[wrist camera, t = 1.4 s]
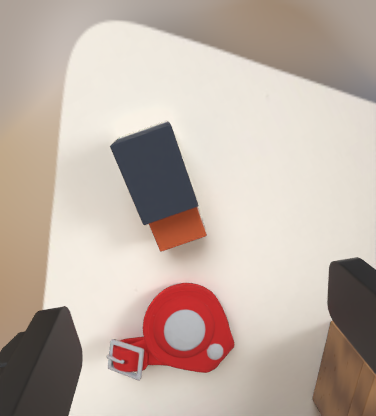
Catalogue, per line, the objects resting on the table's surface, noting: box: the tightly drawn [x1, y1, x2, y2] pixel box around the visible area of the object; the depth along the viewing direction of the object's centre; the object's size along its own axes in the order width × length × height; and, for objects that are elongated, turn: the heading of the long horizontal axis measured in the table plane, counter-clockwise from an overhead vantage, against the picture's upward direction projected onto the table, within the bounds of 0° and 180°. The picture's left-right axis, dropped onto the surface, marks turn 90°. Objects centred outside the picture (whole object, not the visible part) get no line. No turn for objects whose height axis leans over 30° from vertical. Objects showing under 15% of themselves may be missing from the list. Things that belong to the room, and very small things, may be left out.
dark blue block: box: [110, 121, 207, 251], centre depth 23 cm, size 10×4×5 cm, turn 18°
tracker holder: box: [107, 283, 234, 380], centre depth 29 cm, size 12×4×10 cm
